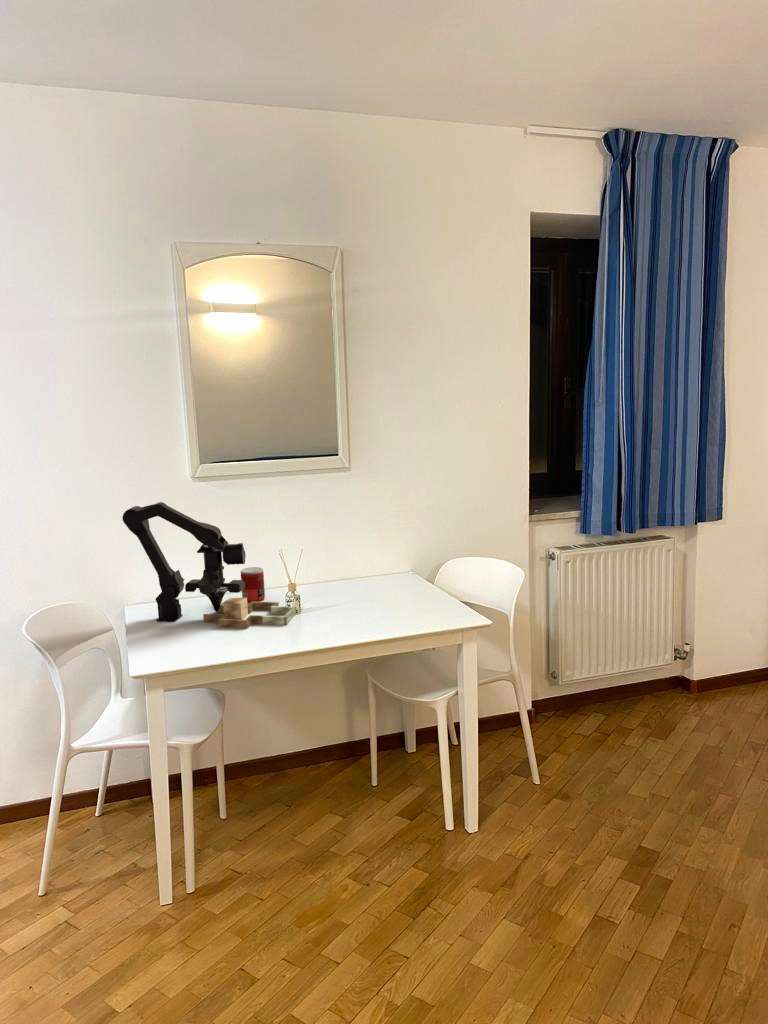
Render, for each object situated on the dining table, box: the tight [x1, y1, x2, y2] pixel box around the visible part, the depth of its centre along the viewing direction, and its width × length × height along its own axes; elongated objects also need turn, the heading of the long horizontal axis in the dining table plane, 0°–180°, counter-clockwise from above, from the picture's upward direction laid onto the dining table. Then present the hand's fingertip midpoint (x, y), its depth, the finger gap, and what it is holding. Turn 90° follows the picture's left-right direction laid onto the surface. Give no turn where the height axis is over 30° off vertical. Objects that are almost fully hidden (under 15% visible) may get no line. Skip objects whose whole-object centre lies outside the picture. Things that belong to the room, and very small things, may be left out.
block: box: [222, 597, 249, 620], centre depth 249 cm, size 6×6×6 cm
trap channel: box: [203, 601, 298, 629], centre depth 249 cm, size 28×20×2 cm
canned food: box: [240, 566, 266, 604], centre depth 268 cm, size 8×8×11 cm
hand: (217, 611), depth 251 cm, fingers closed
